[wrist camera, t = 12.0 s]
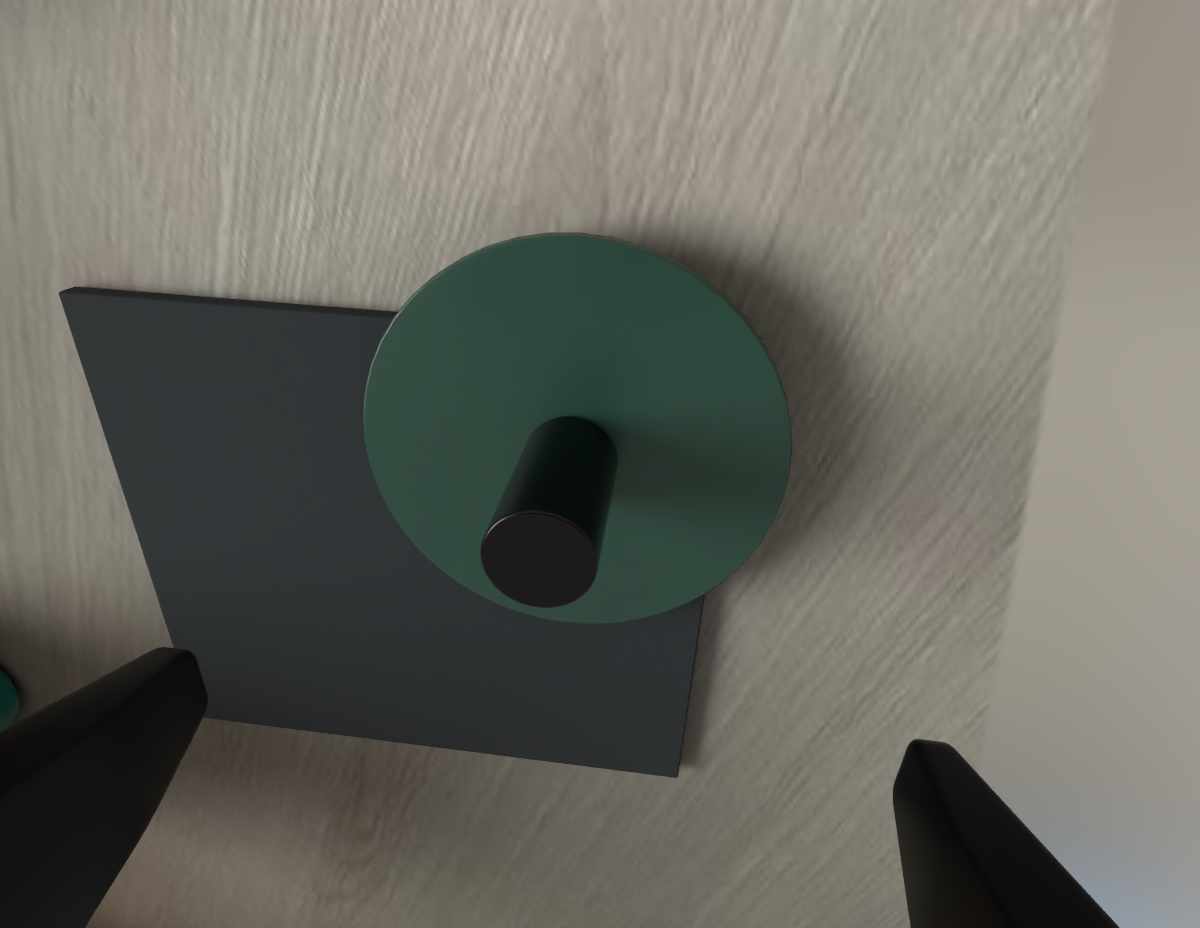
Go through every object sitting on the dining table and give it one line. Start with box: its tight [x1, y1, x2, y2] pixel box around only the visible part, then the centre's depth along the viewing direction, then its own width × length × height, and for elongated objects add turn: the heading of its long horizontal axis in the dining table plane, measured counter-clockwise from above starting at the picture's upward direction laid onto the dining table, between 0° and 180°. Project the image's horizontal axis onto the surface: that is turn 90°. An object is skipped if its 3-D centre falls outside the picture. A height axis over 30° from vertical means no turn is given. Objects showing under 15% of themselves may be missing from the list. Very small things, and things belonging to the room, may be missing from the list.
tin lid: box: [363, 233, 792, 624], centre depth 17 cm, size 11×11×6 cm
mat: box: [59, 287, 705, 778], centre depth 22 cm, size 18×16×1 cm
